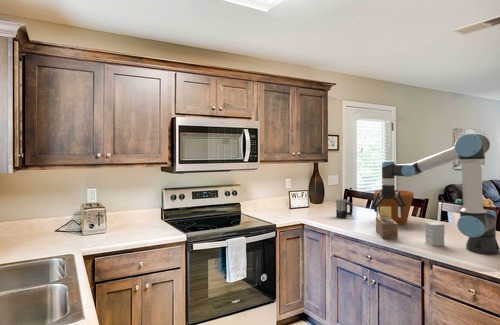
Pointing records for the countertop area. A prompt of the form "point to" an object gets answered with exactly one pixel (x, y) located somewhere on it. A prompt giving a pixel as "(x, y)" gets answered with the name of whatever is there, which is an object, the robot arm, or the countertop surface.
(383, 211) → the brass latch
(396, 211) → the flowerpot
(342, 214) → the milk frother
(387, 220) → the grey block
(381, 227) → the socket block
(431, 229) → the supplement box
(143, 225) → the countertop surface
